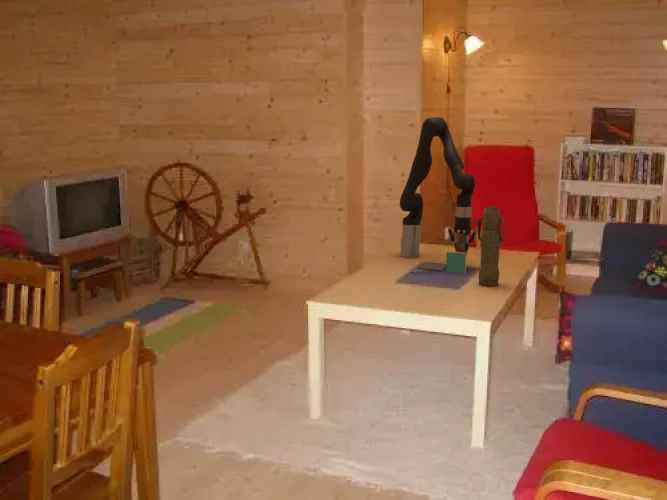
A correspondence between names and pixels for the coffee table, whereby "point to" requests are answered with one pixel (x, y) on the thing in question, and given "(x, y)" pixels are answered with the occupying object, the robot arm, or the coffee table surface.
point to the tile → (456, 262)
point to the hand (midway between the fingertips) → (461, 250)
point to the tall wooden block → (460, 243)
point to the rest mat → (433, 266)
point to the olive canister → (490, 246)
